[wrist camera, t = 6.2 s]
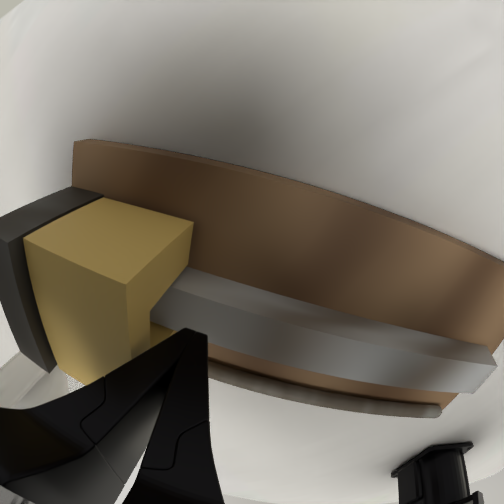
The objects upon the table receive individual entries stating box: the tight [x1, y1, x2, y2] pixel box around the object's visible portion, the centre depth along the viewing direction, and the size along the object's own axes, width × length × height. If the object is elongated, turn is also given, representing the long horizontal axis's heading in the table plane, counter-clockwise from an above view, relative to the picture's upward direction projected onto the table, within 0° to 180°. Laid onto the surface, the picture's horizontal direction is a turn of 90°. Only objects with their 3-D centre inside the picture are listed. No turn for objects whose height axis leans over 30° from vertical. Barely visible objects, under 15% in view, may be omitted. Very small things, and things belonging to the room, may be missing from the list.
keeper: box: [23, 197, 194, 385], centre depth 9 cm, size 4×6×4 cm, turn 167°
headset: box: [0, 351, 69, 409], centre depth 13 cm, size 20×7×18 cm, turn 172°
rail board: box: [0, 139, 504, 418], centre depth 9 cm, size 22×10×6 cm, turn 77°
